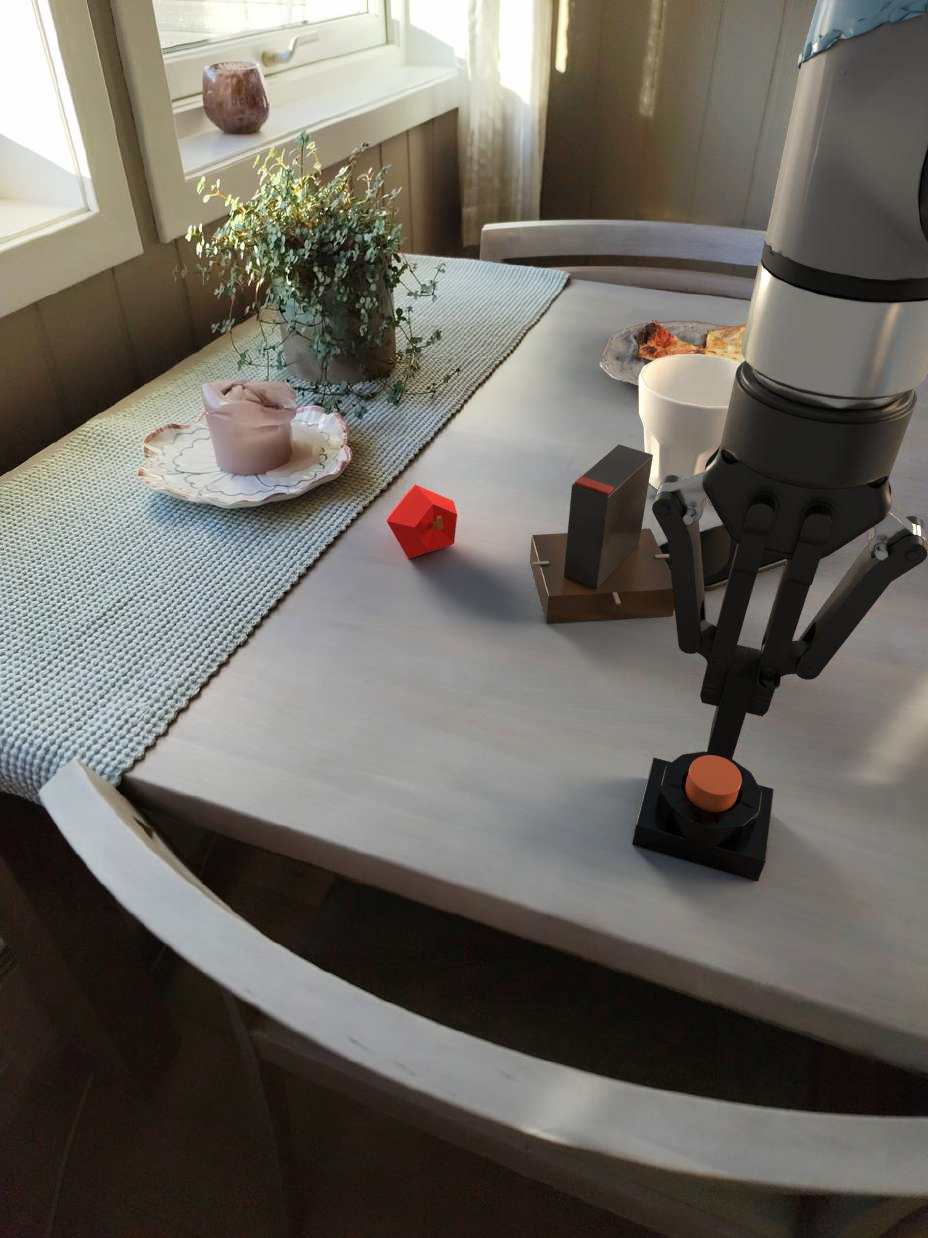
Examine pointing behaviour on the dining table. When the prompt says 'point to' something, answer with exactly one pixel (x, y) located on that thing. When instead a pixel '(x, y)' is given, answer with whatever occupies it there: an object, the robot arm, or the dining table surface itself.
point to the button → (713, 783)
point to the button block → (704, 821)
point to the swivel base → (622, 595)
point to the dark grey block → (606, 515)
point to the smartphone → (721, 557)
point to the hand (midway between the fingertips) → (722, 740)
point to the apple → (423, 522)
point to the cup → (684, 411)
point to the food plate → (668, 345)
